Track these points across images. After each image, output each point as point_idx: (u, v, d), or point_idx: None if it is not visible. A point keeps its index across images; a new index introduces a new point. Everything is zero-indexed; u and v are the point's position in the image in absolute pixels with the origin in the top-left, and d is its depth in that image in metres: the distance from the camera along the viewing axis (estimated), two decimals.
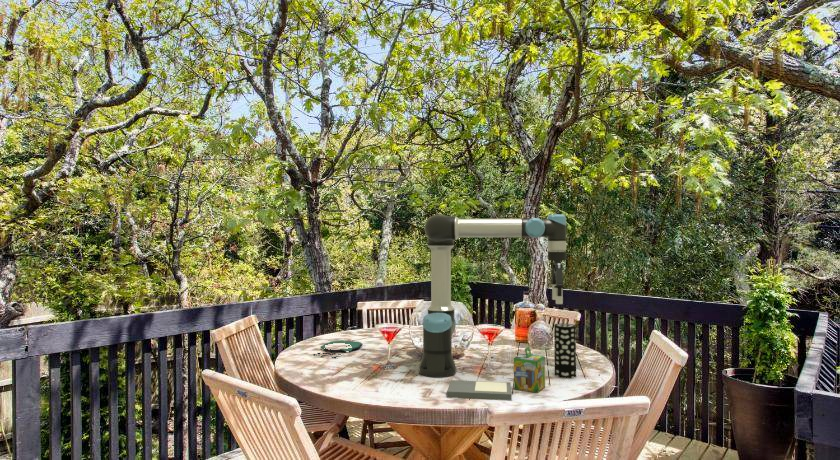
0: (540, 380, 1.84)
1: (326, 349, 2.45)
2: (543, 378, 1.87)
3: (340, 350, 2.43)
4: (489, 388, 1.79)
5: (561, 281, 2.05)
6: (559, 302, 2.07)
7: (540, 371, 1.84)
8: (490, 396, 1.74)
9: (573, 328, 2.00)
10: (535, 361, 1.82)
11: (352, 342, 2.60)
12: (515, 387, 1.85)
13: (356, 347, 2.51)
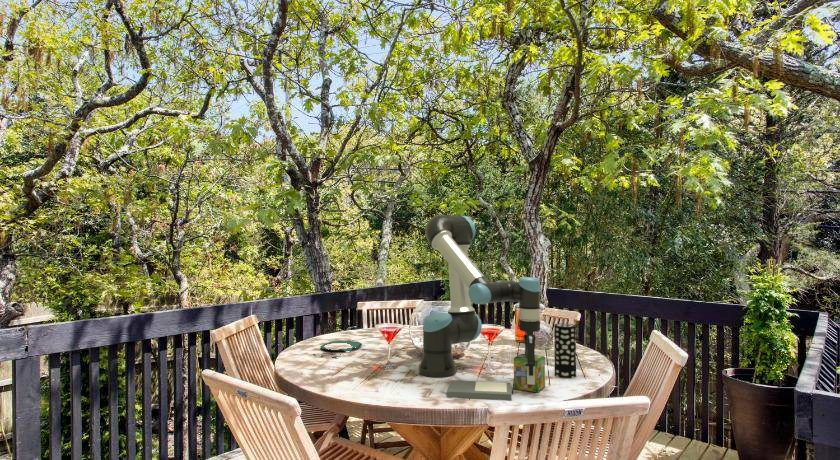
0: (540, 380, 1.84)
1: (326, 349, 2.45)
2: (543, 377, 1.87)
3: (340, 350, 2.43)
4: (489, 388, 1.79)
5: (533, 359, 1.79)
6: (531, 382, 1.81)
7: (540, 371, 1.84)
8: (490, 396, 1.74)
9: (573, 328, 2.00)
10: (535, 361, 1.82)
11: (351, 342, 2.60)
12: (515, 387, 1.85)
13: (356, 347, 2.51)
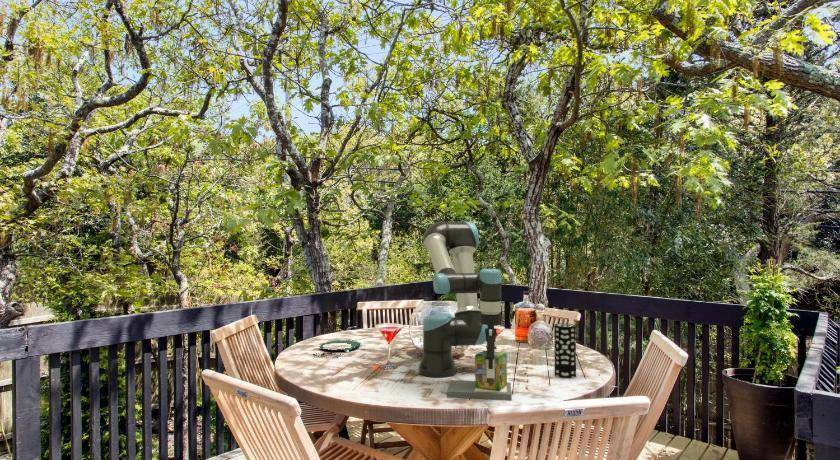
0: (502, 378, 1.79)
1: (325, 349, 2.45)
2: (505, 375, 1.82)
3: (339, 350, 2.44)
4: None
5: (492, 352, 1.72)
6: (490, 376, 1.74)
7: (501, 369, 1.78)
8: (490, 396, 1.74)
9: (573, 328, 2.00)
10: (496, 358, 1.76)
11: (350, 342, 2.61)
12: (476, 385, 1.80)
13: (355, 347, 2.52)
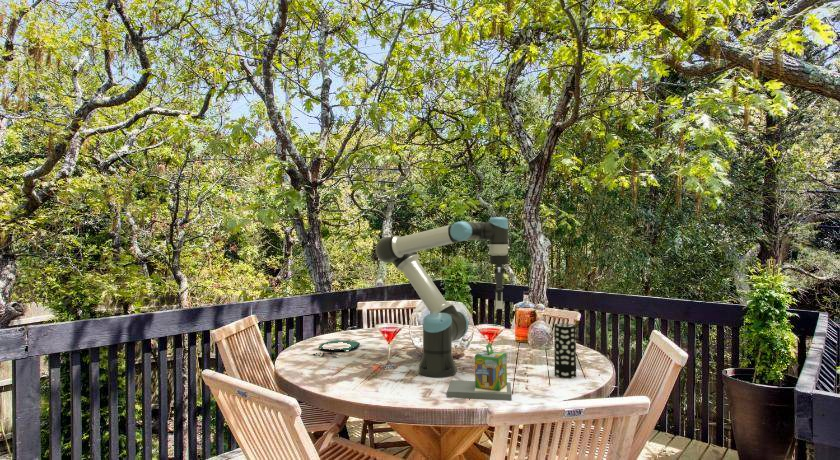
0: (502, 378, 1.79)
1: (325, 349, 2.46)
2: (505, 375, 1.82)
3: (339, 350, 2.44)
4: None
5: (500, 285, 2.00)
6: (499, 307, 2.03)
7: (501, 369, 1.78)
8: (490, 396, 1.74)
9: (573, 328, 2.00)
10: (496, 358, 1.76)
11: (349, 342, 2.61)
12: (476, 385, 1.80)
13: (354, 346, 2.52)
